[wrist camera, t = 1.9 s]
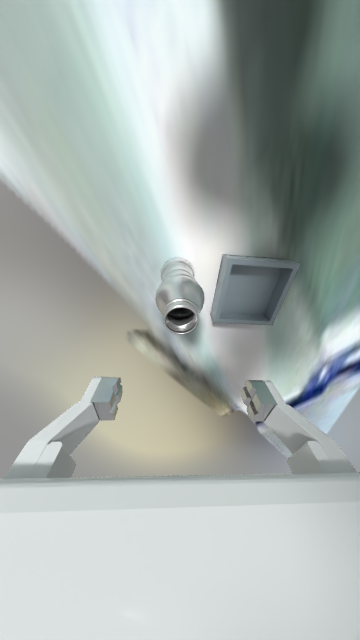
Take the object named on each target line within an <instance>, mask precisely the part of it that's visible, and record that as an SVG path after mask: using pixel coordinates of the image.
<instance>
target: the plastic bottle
mask: <svg viewBox="0 0 360 640" xmlns="http://www.w3.org/2000/svg"><path fill="white" fill-rule="evenodd" d="M161 279H162V283H161V285H160V286H159V288H158V290H157V293H156V299H155V300H156V305H157V307H158V309H159V311H160V312H161V314H162V315H163V316H164V319H163V320H164V325H165V327H166V328H167V329H168V330H169V331H170V332H172V333H175V334H186V333H189V332H191V331H192V330H194V329H195V327H196V326H197V324H198V314H199V313H200V311H201V310H202V307H203V304H204V292H203V290H202V288H201V286H200V285H199V284H198V282H196V281H195V280H194V269H193V266H192V265H191V263H190V262H189V261H187V260H186V259H183V258H179V257H176V258H172V259H170V260H168V261H167V262H165V264H164V265H163V267H162V269H161Z"/></svg>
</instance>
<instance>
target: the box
mask: <svg viewBox="0 0 360 640" xmlns="http://www.w3.org/2000/svg"><path fill="white" fill-rule="evenodd" d="M300 265H301V264H300V263H297V262H294V261H291V260H288V259H275V258H262V257H250V256H237V255H224V254H223V256H222V260H221V265H220V270H219V275H218V280H217V285H216V290H215V294H214V299H213V304H212V309H211V316H212V319H213V321H214V322H216V323H237V324H257V325H273V322H274V320H275V318H276V316H277V314H278V312H279V310H280V307H281V305H282V303H283V301H284V299H285V297H286V295H287V292H288V290H289V288H290V286H291V284H292V282H293V280H294V277H295V275H296V273H297V271H298V269H299V267H300Z"/></svg>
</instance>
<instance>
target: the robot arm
mask: <svg viewBox="0 0 360 640" xmlns="http://www.w3.org/2000/svg"><path fill="white" fill-rule="evenodd" d="M120 383H121V379H120V378H116V377H94V378H93V379H92V380H91V382H90V384H89V386H88V388H87V390H86V392H85V393H84V395H83V397H82V399H81V401H80V402H78V403H76V404H74V405H73V406H72V407H71V408H69V409H68V410H67V411H66V412H64V413H63V414H62V415H61V416H59V417H58V418H57V419H56V420H54V421H53V422H52V423H50V424H49V425H48V426H47V427H45V428H44V429H43V430H42V431H40V432H39V433H38V434H37V435H36V436H34V437H33V438H32V439H30V440H29V441H28V443H27V444H26V445H25V447H24V448H23V450H22V451H21V453H20V454H19V456H18V458H17V459H16V460H15V462H14V463H13V465H12V466H11V468H10V469H9V471H8V472H7V474H6V475H5V477H4V478H3V479H0V640H360V472H357V471H356V470H355V468H354V467H353V465H352V464H351V463H350V462H349V460H348V459H347V457H346V456H345V455H344V453H343V452H342V451H341V449H340V448H339V446H338V445H337V444H336V442H335V441H334V440H333V439H332V438H330V437H329V436H328V435H327V434H325V433H324V432H323V431H321V430H320V429H319V428H318V427H316V426H315V425H314V424H312V423H311V422H310V421H309V420H307V419H306V418H305V417H303V416H302V415H301V414H300V413H298V412H297V411H296V410H295V409H293V408H292V407H291V406H289V405H286V403H285V402H284V400H283V398H282V397H281V395H280V394H279V392H278V391H277V389H276V387H275V386H274V384H273V383H272V382H271V381H262V380H248V381H246V383H245V385H246V386H245V387H244V388H243V390H242V399H243V402H244V404H246V405H247V406H248V407H247V412H248V415H249V417H250V420H251V421H265V422H264V423H265V424H266V425H267V426H268V427H269V428H270V429H271V430H272V431H273V433H274V434H275V435H276V436H277V437H278V438H279V439H280V440H281V441H282V442H283V444H284V445H285V446H286V447H287V448H288V449H289V450H290V451H291V452H292V454H293V455H292V456H291V457H290V458H288V460H287V462H288V465H289V467H290V469H291V471H292V473H293V474H247V475H246V474H244V475H189V476H135V477H81V478H80V477H78V478H71V477H72V474H73V471H74V469H75V466H76V462H75V460H74V459H73V458H72V456H71V455H70V454H71V453H72V452H73V451H74V450H75V448H76V447H77V446H78V445H79V444H80V443H81V442H82V441H83V439H84V438H85V437H86V436H87V435H88V434H89V433H90V432H91V430H92V429H93V428H94V427H95V426H96V425H97V424H98V422H99V420H115V416H116V413H117V410H118V407H117V404H118V403H119V402H120V400H121V396H122V385H120Z"/></svg>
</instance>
